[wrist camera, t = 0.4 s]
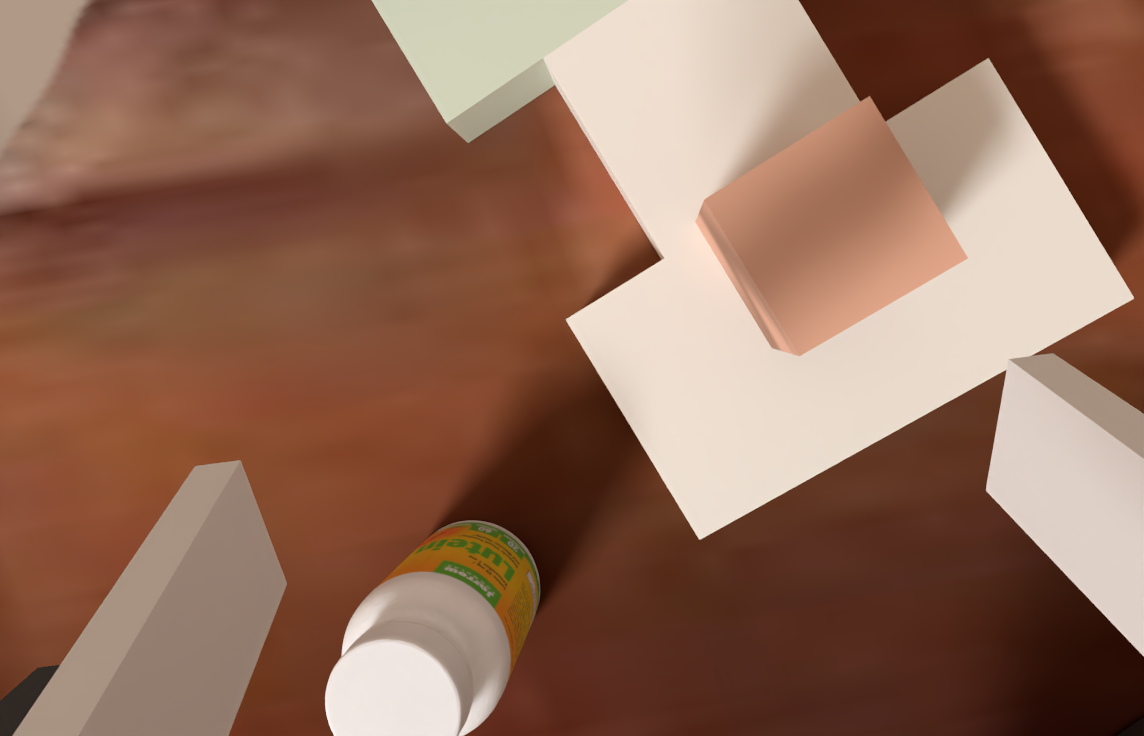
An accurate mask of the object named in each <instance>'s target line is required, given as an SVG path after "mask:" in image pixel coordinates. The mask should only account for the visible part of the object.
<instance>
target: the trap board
mask: <svg viewBox="0 0 1144 736" xmlns="http://www.w3.org/2000/svg"><path fill="white" fill-rule="evenodd" d="M372 2H373V3H374V5H375V7H376V8H377V10H378V12H379V13H380V15H381V17H382V18H383V20H384V21H385V23H386V25H387V26H388V28H389V30H390V31H391V33H392V35H393V36H394V38H395V40H396V41H397V43H398V45H399V46H400V48H401V49H402V51H403V53H404V54H405V56H406V58H407V59H408V61H409V63H410V64H411V66H412V68H413V69H414V71H415V73H416V74H417V76H418V77H419V79H420V81H421V82H422V84H423V86H424V87H425V89H426V91H427V92H428V94H429V96H430V97H431V99H432V100H433V102H434V104H435V105H436V107H437V109H438V110H439V112H440V114H441V115H442V117H443V119H444V120H445V122H446V123H447V124H448V125H449V126H450V127H451V128H452V129H453V130H454V131H455V132H456V133H458V134H459V135H460V136H461V137H462V138H463V139H464V140H465V141H466V142H468V143H469V142H471V141H472V140H474V139H475V138H477V137H478V136H480V135H481V134H482V133H484V132H485V131H487V130H488V129H490V128H491V127H493V126H494V125H496V124H497V123H499V122H500V121H502V120H503V119H505V118H506V117H508V116H509V115H511V114H512V113H514V112H515V111H517V110H518V109H520V108H521V107H523V106H524V105H526V104H527V103H529V102H530V101H532V100H533V99H535V98H536V97H538V96H539V95H541V94H542V93H544V92H545V91H547V90H548V89H550V88H551V87H553V86H554V85H555V86H556V87H557V89H558V91H559V92H560V94H561V96H562V97H563V99H564V100H565V102H566V104H567V105H568V107H569V109H570V110H571V112H572V114H573V115H574V117H575V119H576V120H577V122H578V124H579V125H580V127H581V128H582V130H583V132H584V133H585V135H586V137H587V138H588V140H589V142H590V143H591V145H592V147H593V148H594V150H595V152H596V153H597V155H598V156H599V158H600V160H601V161H602V163H603V165H604V166H605V168H606V170H607V171H608V173H609V175H610V176H611V178H612V180H613V181H614V183H615V184H616V186H617V188H618V189H619V191H620V193H621V194H622V196H623V198H624V199H625V201H626V203H627V204H628V206H629V208H630V209H631V211H632V212H633V214H634V216H635V217H636V219H637V221H638V222H639V224H640V226H641V227H642V229H643V231H644V232H645V234H646V236H647V237H648V239H649V240H650V242H651V244H652V245H653V247H654V249H655V250H656V252H657V254H658V255H659V257H660V259H661V261H659V262H658V263H656V264H655V265H653V266H651V267H650V268H648V269H646V270H645V271H643V272H642V273H640V274H638V275H637V276H635V277H634V278H632V279H630V280H629V281H627V282H625V283H624V284H622V285H621V286H619V287H617V288H616V289H614V290H613V291H611V292H609V293H608V294H606V295H604V296H603V297H601V298H600V299H598V300H596V301H595V302H593V303H592V304H590V305H588V306H587V307H585V308H583V309H582V310H580V311H579V312H577V313H575V314H574V315H572V316H571V317H569V318H567V319H566V321H567V323H568V324H569V326H570V328H571V329H572V331H573V333H574V334H575V336H576V337H577V339H578V341H579V342H580V344H581V346H582V347H583V349H584V351H585V352H586V354H587V356H588V357H589V359H590V360H591V362H592V364H593V365H594V367H595V369H596V370H597V372H598V374H599V375H600V377H601V379H602V380H603V382H604V384H605V385H606V387H607V388H608V390H609V392H610V393H611V395H612V397H613V398H614V400H615V402H616V403H617V405H618V407H619V408H620V410H621V412H622V413H623V415H624V416H625V418H626V420H627V421H628V423H629V425H630V426H631V428H632V430H633V431H634V433H635V435H636V436H637V438H638V439H639V441H640V443H641V444H642V446H643V448H644V449H645V451H646V453H647V454H648V456H649V458H650V459H651V461H652V463H653V464H654V466H655V467H656V469H657V471H658V472H659V474H660V476H661V477H662V479H663V481H664V482H665V484H666V486H667V487H668V489H669V491H670V492H671V494H672V495H673V497H674V499H675V500H676V502H677V504H678V505H679V507H680V509H681V510H682V512H683V514H684V515H685V517H686V518H687V520H688V522H689V523H690V525H691V527H692V528H693V530H694V532H695V533H696V535H697V537H698V538H699V540H700V539H702V538H704V537H706V536H707V535H709V534H711V533H713V532H715V531H716V530H718V529H720V528H722V527H724V526H725V525H727V524H729V523H731V522H733V521H734V520H736V519H738V518H740V517H742V516H743V515H745V514H747V513H749V512H751V511H752V510H754V509H756V508H758V507H760V506H761V505H763V504H765V503H767V502H769V501H770V500H772V499H774V498H776V497H778V496H779V495H781V494H783V493H785V492H787V491H788V490H790V489H792V488H794V487H796V486H797V485H799V484H801V483H803V482H805V481H806V480H808V479H810V478H812V477H814V476H815V475H817V474H819V473H821V472H823V471H824V470H826V469H828V468H830V467H832V466H833V465H835V464H837V463H839V462H841V461H842V460H844V459H846V458H848V457H850V456H851V455H853V454H855V453H857V452H859V451H860V450H862V449H864V448H866V447H868V446H869V445H871V444H873V443H875V442H877V441H878V440H880V439H882V438H884V437H886V436H887V435H889V434H891V433H893V432H895V431H896V430H898V429H900V428H902V427H904V426H905V425H907V424H909V423H911V422H913V421H914V420H916V419H918V418H920V417H922V416H923V415H925V414H927V413H929V412H931V411H932V410H934V409H936V408H938V407H940V406H941V405H943V404H945V403H947V402H949V401H950V400H952V399H954V398H956V397H958V396H959V395H961V394H963V393H965V392H967V391H968V390H970V389H972V388H974V387H976V386H977V385H979V384H981V383H983V382H985V381H986V380H988V379H990V378H992V377H994V376H995V375H997V374H999V373H1001V372H1003V371H1004V370H1006V369H1007V365H1008V360H1009V359H1014V358H1021V357H1029V356H1031V355H1033V354H1035V353H1037V352H1039V351H1040V350H1042V349H1044V348H1046V347H1048V346H1049V345H1051V344H1053V343H1055V342H1057V341H1058V340H1060V339H1062V338H1064V337H1066V336H1067V335H1069V334H1071V333H1073V332H1075V331H1076V330H1078V329H1080V328H1082V327H1084V326H1085V325H1087V324H1089V323H1091V322H1093V321H1094V320H1096V319H1098V318H1100V317H1102V316H1103V315H1105V314H1107V313H1109V312H1111V311H1112V310H1114V309H1116V308H1118V307H1120V306H1121V305H1123V304H1125V303H1127V302H1129V301H1130V300H1132V299H1134V297H1133V295H1132V294H1131V292H1130V290H1129V289H1128V287H1127V285H1126V284H1125V282H1124V280H1123V279H1122V277H1121V276H1120V274H1119V272H1118V271H1117V269H1116V267H1115V266H1114V264H1113V262H1112V261H1111V259H1110V257H1109V256H1108V254H1107V252H1106V251H1105V249H1104V247H1103V246H1102V244H1101V243H1100V241H1099V239H1098V238H1097V236H1096V234H1095V233H1094V231H1093V229H1092V228H1091V226H1090V224H1089V223H1088V221H1087V219H1086V218H1085V216H1084V214H1083V213H1082V211H1081V210H1080V208H1079V206H1078V205H1077V203H1076V201H1075V200H1074V198H1073V196H1072V195H1071V193H1070V191H1069V190H1068V188H1067V186H1066V185H1065V183H1064V181H1063V180H1062V178H1061V177H1060V175H1059V173H1058V172H1057V170H1056V168H1055V167H1054V165H1053V163H1052V162H1051V160H1050V158H1049V157H1048V155H1047V153H1046V152H1045V150H1044V148H1043V147H1042V145H1041V144H1040V142H1039V140H1038V139H1037V137H1036V135H1035V134H1034V132H1033V130H1032V129H1031V127H1030V125H1029V124H1028V122H1027V120H1026V119H1025V117H1024V115H1023V114H1022V112H1021V111H1020V109H1019V107H1018V106H1017V104H1016V102H1015V101H1014V99H1013V97H1012V96H1011V94H1010V92H1009V91H1008V89H1007V87H1006V86H1005V84H1004V83H1003V81H1002V79H1001V78H1000V76H999V74H998V73H997V71H996V69H995V68H994V66H993V64H992V63H991V61H990V59H989V58H988V59H986V60H984V61H983V62H981V63H979V64H978V65H976V66H975V67H973V68H971V69H970V70H968V71H967V72H965V73H963V74H962V75H960V76H958V77H957V78H955V79H954V80H952V81H950V82H949V83H947V84H946V85H944V86H942V87H941V88H939V89H937V90H936V91H934V92H933V93H931V94H929V95H928V96H926V97H925V98H923V99H921V100H920V101H918V102H916V103H915V104H913V105H912V106H910V107H908V108H907V109H905V110H904V111H902V112H900V113H899V114H897V115H895V116H894V117H892V118H891V119H889V120H887V121H886V124H887V125H888V127H889V128H890V130H891V132H892V133H893V135H894V137H895V138H896V140H897V142H898V143H899V145H900V147H901V148H902V150H903V152H904V153H905V155H906V156H907V158H908V160H909V161H910V163H911V165H912V166H913V168H914V170H915V171H916V173H917V175H918V176H919V178H920V180H921V181H922V183H923V185H924V186H925V188H926V189H927V191H928V193H929V194H930V196H931V198H932V199H933V201H934V203H935V204H936V206H937V208H938V209H939V211H940V213H941V214H942V216H943V217H944V219H945V221H946V222H947V224H948V226H949V227H950V229H951V231H952V232H953V234H954V236H955V237H956V239H957V241H958V242H959V244H960V246H961V247H962V249H963V250H964V252H965V254H966V255H967V257H968V259H966V260H964V261H963V262H961V263H959V264H957V265H956V266H954V267H952V268H951V269H949V270H947V271H945V272H944V273H942V274H940V275H939V276H937V277H935V278H933V279H932V280H930V281H928V282H927V283H925V284H923V285H921V286H920V287H918V288H916V289H914V290H913V291H911V292H909V293H908V294H906V295H904V296H902V297H901V298H899V299H897V300H896V301H894V302H892V303H890V304H889V305H887V306H885V307H884V308H882V309H880V310H878V311H877V312H875V313H873V314H872V315H870V316H868V317H866V318H865V319H863V320H861V321H859V322H858V323H856V324H854V325H853V326H851V327H849V328H847V329H846V330H844V331H842V332H841V333H839V334H837V335H835V336H834V337H832V338H830V339H829V340H827V341H825V342H823V343H822V344H820V345H818V346H816V347H815V348H813V349H811V350H810V351H808V352H806V353H804V354H803V355H801V356H797V355H793V354H790V353H787V352H783V351H780V350H777V349H773V348H771V346H770V344H769V343H768V341H767V339H766V338H765V336H764V335H763V333H762V331H761V330H760V328H759V326H758V325H757V323H756V321H755V320H754V318H753V316H752V315H751V313H750V311H749V310H748V308H747V307H746V305H745V303H744V302H743V300H742V298H741V297H740V295H739V293H738V292H737V290H736V288H735V287H734V285H733V283H732V282H731V280H730V279H729V277H728V275H727V274H726V272H725V270H724V269H723V267H722V265H721V264H720V262H719V260H718V259H717V257H716V255H715V254H714V252H713V251H712V249H711V247H710V246H709V244H708V242H707V241H706V239H705V237H704V236H703V234H702V232H701V231H700V229H699V227H698V226H697V224H696V223H695V221H696V219H697V216H698V214H699V211H700V209H701V206H702V204H703V202H704V199H706V198H707V197H709V196H711V195H712V194H714V193H715V192H717V191H719V190H720V189H722V188H723V187H725V186H727V185H728V184H730V183H731V182H733V181H735V180H736V179H738V178H739V177H741V176H743V175H744V174H746V173H747V172H749V171H751V170H752V169H754V168H755V167H757V166H759V165H760V164H762V163H763V162H765V161H767V160H768V159H770V158H771V157H773V156H775V155H776V154H778V153H779V152H781V151H783V150H784V149H786V148H787V147H789V146H790V145H792V144H794V143H795V142H797V141H798V140H800V139H802V138H803V137H805V136H806V135H808V134H810V133H811V132H813V131H814V130H816V129H818V128H819V127H821V126H822V125H824V124H826V123H827V122H829V121H830V120H832V119H834V118H835V117H837V116H838V115H840V114H842V113H843V112H845V111H846V110H848V109H850V108H851V107H853V106H854V105H856V104H858V103H859V102H860V101H859V99H858V97H857V96H856V94H855V92H854V91H853V89H852V88H851V86H850V84H849V83H848V81H847V79H846V78H845V76H844V74H843V73H842V71H841V69H840V68H839V66H838V64H837V63H836V61H835V60H834V58H833V56H832V55H831V53H830V51H829V50H828V48H827V46H826V45H825V43H824V41H823V40H822V38H821V36H820V35H819V33H818V31H817V30H816V28H815V27H814V25H813V23H812V22H811V20H810V18H809V17H808V15H807V13H806V12H805V10H804V8H803V7H802V5H801V3H800V2H799V0H372Z"/></svg>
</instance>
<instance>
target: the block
mask: <svg viewBox="0 0 1144 736" xmlns="http://www.w3.org/2000/svg"><path fill="white" fill-rule="evenodd" d="M695 223H696V224H697V226H698V227H699V229H700V231H701V232H702V234H703V236H704V237H705V239H706V241H707V242H708V244H709V246H710V247H711V249H712V251H713V252H714V254H715V255H716V257H717V259H718V260H719V262H720V264H721V265H722V267H723V269H724V270H725V272H726V274H727V275H728V277H729V279H730V280H731V282H732V283H733V285H734V287H735V288H736V290H737V292H738V293H739V295H740V297H741V298H742V300H743V302H744V303H745V305H746V307H747V308H748V310H749V311H750V313H751V315H752V316H753V318H754V320H755V321H756V323H757V325H758V326H759V328H760V330H761V331H762V333H763V335H764V336H765V338H766V339H767V341H768V343H769V344H770V346H771V348H773V349H777V350H780V351H783V352H787V353H790V354H793V355H797V356H801V355H803V354H804V353H806V352H808V351H810V350H811V349H813V348H815V347H816V346H818V345H820V344H822V343H823V342H825V341H827V340H829V339H830V338H832V337H834V336H835V335H837V334H839V333H841V332H842V331H844V330H846V329H847V328H849V327H851V326H853V325H854V324H856V323H858V322H859V321H861V320H863V319H865V318H866V317H868V316H870V315H872V314H873V313H875V312H877V311H878V310H880V309H882V308H884V307H885V306H887V305H889V304H890V303H892V302H894V301H896V300H897V299H899V298H901V297H902V296H904V295H906V294H908V293H909V292H911V291H913V290H914V289H916V288H918V287H920V286H921V285H923V284H925V283H927V282H928V281H930V280H932V279H933V278H935V277H937V276H939V275H940V274H942V273H944V272H945V271H947V270H949V269H951V268H952V267H954V266H956V265H957V264H959V263H961V262H963V261H964V260H966V259H968V257H967V255H966V254H965V252H964V250H963V249H962V247H961V246H960V244H959V242H958V241H957V239H956V237H955V236H954V234H953V232H952V231H951V229H950V227H949V226H948V224H947V222H946V221H945V219H944V217H943V216H942V214H941V213H940V211H939V209H938V208H937V206H936V204H935V203H934V201H933V199H932V198H931V196H930V194H929V193H928V191H927V189H926V188H925V186H924V185H923V183H922V181H921V180H920V178H919V176H918V175H917V173H916V171H915V170H914V168H913V166H912V165H911V163H910V161H909V160H908V158H907V156H906V155H905V153H904V152H903V150H902V148H901V147H900V145H899V143H898V142H897V140H896V138H895V137H894V135H893V133H892V132H891V130H890V128H889V127H888V125H887V124H886V122H885V120H884V119H883V117H882V115H881V114H880V112H879V110H878V109H877V107H876V105H875V104H874V102H873V100H872V99H871V97H870V96H869V97H867V98H866V99H864V100H862V101H861V102H859V103H858V104H856V105H854V106H853V107H851V108H850V109H848V110H846V111H845V112H843V113H842V114H840V115H838V116H837V117H835V118H834V119H832V120H830V121H829V122H827V123H826V124H824V125H822V126H821V127H819V128H818V129H816V130H814V131H813V132H811V133H810V134H808V135H806V136H805V137H803V138H802V139H800V140H798V141H797V142H795V143H794V144H792V145H790V146H789V147H787V148H786V149H784V150H783V151H781V152H779V153H778V154H776V155H775V156H773V157H771V158H770V159H768V160H767V161H765V162H763V163H762V164H760V165H759V166H757V167H755V168H754V169H752V170H751V171H749V172H747V173H746V174H744V175H743V176H741V177H739V178H738V179H736V180H735V181H733V182H731V183H730V184H728V185H727V186H725V187H723V188H722V189H720V190H719V191H717V192H715V193H714V194H712V195H711V196H709V197H707V198H706V199H704V202H703V204H702V206H701V209H700V211H699V214H698V216H697V219H696V221H695Z"/></svg>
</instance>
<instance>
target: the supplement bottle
mask: <svg viewBox="0 0 1144 736" xmlns="http://www.w3.org/2000/svg"><path fill="white" fill-rule="evenodd" d="M539 599H540V579H539V573H538V570H537V567H536V564H535V561H534V559H533V557H532V555H531V554H530V552H529V550H528V549H527V548H526V546H525V545H524V544H523V543H522V542H521V541H520V540H519V539H518V538H517V537H516V536H515V535H513V534H512V533H511V532H509V531H508V530H506V529H504V528H503V527H500V526H498V525H496V524H493V523H489V522H485V521H477V520H467V521H460V522H456V523H452V524H449V525H447V526H445V527H443V528H441V529H439V530H438V531H436V532H435V533H433V534H432V535H431V536H430V537H429V538H427V539H426V540H425V541H424V542H423V543H422V544H421V545H420V546H419V547H418V548H417V549H416V550H415V551H414V552H413V553H412V554H411V555H409V556H408V557H407V558H406V559H405V560H404V561H403V562H402V563H401V564H400V565H399V566H398V567H397V568H396V569H395V570H394V571H393V572H392V573H391V574H390V575H389V576H388V577H387V578H386V579H385V580H384V581H383V582H382V583H381V584H379V585H378V586H377V587H376V588H375V589H374V590H373V591H372V592H371V593H370V594H369V595H368V596H367V597H366V598H365V600H364V601H363V602H362V603H361V604H360V605H359V607H358V608H357V609H356V611H355V613H354V614H353V616H352V618H351V620H350V622H349V624H348V627H347V629H346V632H345V636H344V640H343V646H342V657H341V658H340V660H339V661H338V662H337V664H336V665H335V667H334V669H333V671H332V673H331V675H330V678H329V680H328V684H327V688H326V696H325V707H326V714H327V719H328V722H329V725H330V728H331V730H332V732H333V734H334V736H463V735H465V734H467V733H469V732H471V731H472V730H473V729H475V728H476V727H477V726H479V725H480V724H481V723H482V722H483V721H484V720H485V719H486V718H487V717H488V716H489V715H490V713H491V712H492V711H493V710H494V708H495V706H496V705H497V703H498V701H499V700H500V698H501V696H502V694H503V692H504V690H505V687H506V685H507V683H508V680H509V678H510V675H511V673H512V671H513V668H514V666H515V663H516V661H517V658H518V656H519V653H520V651H521V648H522V646H523V644H524V641H525V639H526V636H527V634H528V631H529V629H530V627H531V624H532V622H533V620H534V617H535V614H536V611H537V608H538V604H539Z"/></svg>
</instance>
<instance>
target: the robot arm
mask: <svg viewBox="0 0 1144 736" xmlns="http://www.w3.org/2000/svg"><path fill="white" fill-rule="evenodd" d="M986 491H987V492H988V493H989V494H990V495H991V496H992V497H993V499H994V500H995V501H996V502H997V503H998V504H999V505H1000V506H1001V507H1002V508H1003V509H1004V510H1005V511H1006V512H1007V513H1008V514H1009V515H1010V516H1011V517H1012V519H1013V520H1014V521H1015V522H1016V523H1017V524H1018V525H1019V526H1020V527H1021V528H1022V529H1023V530H1024V531H1025V532H1026V533H1027V534H1028V535H1029V536H1030V537H1031V539H1032V540H1033V541H1034V542H1035V543H1036V544H1037V545H1038V546H1039V547H1040V548H1041V549H1042V550H1043V551H1044V552H1045V553H1046V554H1047V555H1048V556H1049V557H1050V559H1051V560H1052V561H1053V562H1054V563H1055V564H1056V565H1057V566H1058V567H1059V568H1060V569H1061V570H1062V571H1063V572H1064V573H1065V574H1066V575H1067V576H1068V577H1069V579H1070V580H1071V581H1072V582H1073V583H1074V584H1075V585H1076V586H1077V587H1078V588H1079V589H1080V590H1081V591H1082V592H1083V593H1084V594H1085V595H1086V596H1087V597H1088V599H1089V600H1090V601H1091V602H1092V603H1093V604H1094V605H1095V606H1096V607H1097V608H1098V609H1099V610H1100V611H1101V612H1102V613H1103V614H1104V615H1105V616H1106V617H1107V618H1108V620H1109V621H1110V622H1111V623H1112V624H1113V625H1114V626H1115V627H1116V628H1117V629H1118V630H1119V631H1120V632H1121V633H1122V634H1123V635H1124V636H1125V637H1126V638H1127V640H1128V641H1129V642H1130V643H1131V644H1132V645H1133V646H1134V647H1135V648H1136V649H1137V650H1138V651H1139V652H1140V653H1141V654H1142V655H1143V656H1144V414H1143V413H1142V412H1140V411H1139V410H1137V409H1136V408H1134V407H1133V406H1131V405H1130V404H1128V403H1127V402H1125V401H1124V400H1122V399H1121V398H1119V397H1118V396H1116V395H1115V394H1113V393H1112V392H1110V391H1109V390H1107V389H1106V388H1104V387H1103V386H1101V385H1100V384H1098V383H1097V382H1095V381H1094V380H1092V379H1091V378H1089V377H1088V376H1086V375H1085V374H1083V373H1082V372H1080V371H1079V370H1077V369H1076V368H1074V367H1073V366H1071V365H1070V364H1068V363H1067V362H1065V361H1064V360H1062V359H1061V358H1059V357H1058V356H1056V355H1055V354H1053V353H1052V354H1044V355H1036V356H1029V357H1021V358H1014V359H1009V360H1008V365H1007V371H1006V377H1005V383H1004V388H1003V394H1002V400H1001V406H1000V411H999V417H998V423H997V429H996V434H995V440H994V446H993V452H992V457H991V463H990V469H989V475H988V480H987V486H986ZM286 585H287V582H286V580H285V577H284V574H283V572H282V569H281V567H280V564H279V561H278V559H277V556H276V553H275V551H274V548H273V545H272V543H271V540H270V537H269V535H268V532H267V529H266V527H265V524H264V521H263V519H262V516H261V513H260V511H259V508H258V505H257V503H256V500H255V498H254V495H253V492H252V490H251V487H250V484H249V482H248V479H247V476H246V474H245V471H244V468H243V466H242V463H241V460H239V461H231V462H224V463H216V464H208V465H201V466H195V467H194V469H193V470H192V472H191V473H190V474H189V476H188V477H187V479H186V480H185V482H184V483H183V485H182V486H181V488H180V489H179V491H178V492H177V494H176V495H175V497H174V498H173V500H172V501H171V502H170V504H169V505H168V507H167V508H166V510H165V511H164V513H163V514H162V516H161V517H160V519H159V520H158V522H157V523H156V525H155V526H154V528H153V529H152V531H151V532H150V533H149V535H148V536H147V538H146V539H145V541H144V542H143V544H142V545H141V547H140V548H139V550H138V551H137V553H136V554H135V556H134V557H133V559H132V560H131V562H130V563H129V564H128V566H127V567H126V569H125V570H124V572H123V573H122V575H121V576H120V578H119V579H118V581H117V582H116V584H115V585H114V587H113V588H112V590H111V591H110V593H109V594H108V595H107V597H106V598H105V600H104V601H103V603H102V604H101V606H100V607H99V609H98V610H97V612H96V613H95V615H94V616H93V618H92V619H91V621H90V622H89V624H88V625H87V626H86V628H85V629H84V631H83V632H82V634H81V635H80V637H79V638H78V640H77V641H76V643H75V644H74V646H73V647H72V649H71V650H70V652H69V653H68V654H67V656H66V657H65V659H64V660H63V662H62V663H61V665H56V666H48V667H41V668H37V669H36V670H35V671H34V672H32V673H31V674H30V675H29V676H28V677H27V678H26V679H25V680H23V681H22V682H21V683H20V684H19V685H18V686H17V687H16V688H14V689H13V690H12V691H11V692H10V693H9V694H8V695H6V696H5V697H4V698H3V699H2V700H1V701H0V736H228V735H229V732H230V730H231V727H232V725H233V722H234V720H235V717H236V714H237V712H238V709H239V707H240V704H241V701H242V699H243V696H244V694H245V691H246V689H247V686H248V683H249V681H250V678H251V676H252V673H253V670H254V668H255V665H256V663H257V660H258V657H259V655H260V652H261V650H262V647H263V645H264V642H265V639H266V637H267V634H268V632H269V629H270V626H271V624H272V621H273V619H274V616H275V613H276V611H277V608H278V606H279V603H280V601H281V598H282V595H283V593H284V590H285V588H286ZM1118 736H1144V718H1142V719H1141V720H1139V721H1137V722H1136V723H1134V724H1133V725H1131V726H1130V727H1128V728H1127V729H1126V730H1124V731H1123V732H1121V733H1120V734H1119V735H1118Z"/></svg>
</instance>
